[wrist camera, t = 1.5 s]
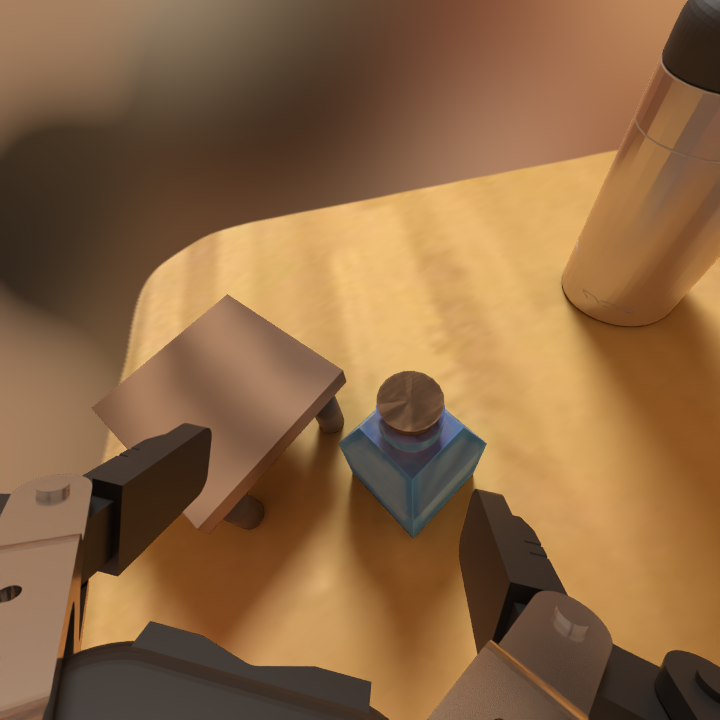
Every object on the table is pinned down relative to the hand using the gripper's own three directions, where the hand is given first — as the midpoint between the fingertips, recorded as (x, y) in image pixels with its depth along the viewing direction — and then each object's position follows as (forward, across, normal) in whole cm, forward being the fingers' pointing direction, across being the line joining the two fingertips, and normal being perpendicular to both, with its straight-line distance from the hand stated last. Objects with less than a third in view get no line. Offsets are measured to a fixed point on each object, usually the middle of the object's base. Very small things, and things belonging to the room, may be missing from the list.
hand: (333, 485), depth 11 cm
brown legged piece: (+18, +9, +8) cm, 21 cm away
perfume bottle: (+16, -4, +7) cm, 18 cm away
